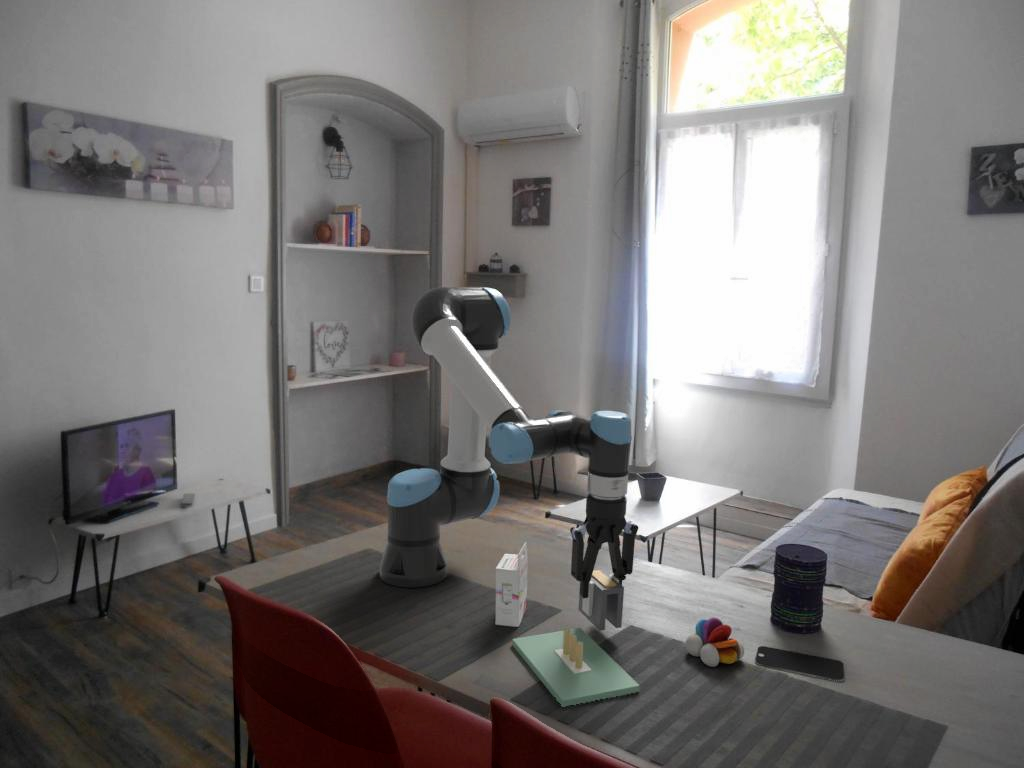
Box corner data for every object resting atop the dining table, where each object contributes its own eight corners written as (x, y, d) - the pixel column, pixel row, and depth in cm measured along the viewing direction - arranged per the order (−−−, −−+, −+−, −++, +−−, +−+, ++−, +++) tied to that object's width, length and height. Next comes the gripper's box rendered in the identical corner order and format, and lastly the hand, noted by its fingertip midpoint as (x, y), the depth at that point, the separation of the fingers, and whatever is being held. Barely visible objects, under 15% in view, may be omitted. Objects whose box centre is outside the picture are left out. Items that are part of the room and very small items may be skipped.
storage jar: (778, 608, 163) (783, 540, 161) (827, 621, 158) (833, 550, 156) (762, 625, 155) (768, 553, 153) (814, 640, 150) (820, 565, 147)
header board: (512, 645, 145) (512, 616, 144) (580, 633, 150) (581, 605, 149) (562, 707, 125) (563, 674, 124) (639, 692, 130) (640, 660, 129)
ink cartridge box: (503, 606, 161) (504, 538, 159) (526, 609, 160) (528, 540, 158) (493, 625, 153) (495, 553, 151) (518, 628, 152) (520, 555, 150)
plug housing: (578, 609, 154) (580, 569, 152) (599, 607, 155) (601, 567, 154) (599, 630, 146) (602, 588, 144) (621, 627, 147) (624, 585, 146)
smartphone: (758, 644, 147) (844, 661, 141) (757, 648, 147) (844, 664, 141) (753, 663, 140) (844, 681, 134) (753, 667, 140) (844, 685, 134)
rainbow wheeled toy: (714, 675, 136) (716, 635, 135) (678, 650, 145) (680, 613, 144) (750, 664, 140) (753, 626, 139) (713, 641, 149) (715, 605, 147)
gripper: (573, 504, 140) (566, 625, 144) (658, 496, 146) (649, 613, 150) (555, 491, 147) (549, 608, 151) (637, 484, 153) (629, 596, 157)
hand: (599, 610), depth 150 cm, fingers closed on plug housing, 5 cm apart
